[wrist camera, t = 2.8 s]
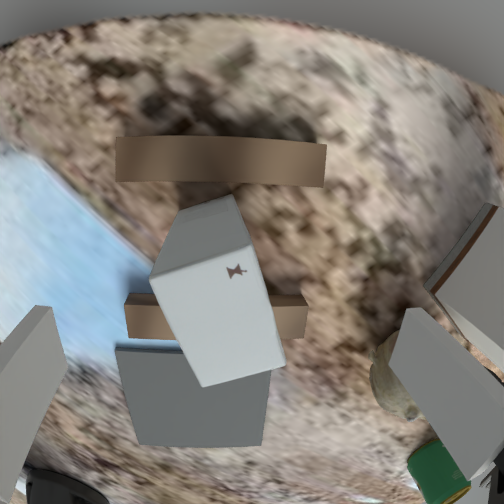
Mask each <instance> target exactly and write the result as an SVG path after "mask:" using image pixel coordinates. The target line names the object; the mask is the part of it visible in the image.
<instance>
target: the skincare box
mask: <svg viewBox="0 0 504 504" xmlns="http://www.w3.org/2000/svg"><path fill="white" fill-rule="evenodd" d="M149 282H150V285H151V287H152V289H153V291H154V294H155V296H156V298H157V300H158V303H159V305H160V307H161V309H162V311H163V313H164V316H165V318H166V320H167V322H168V324H169V326H170V328H171V330H172V332H173V334H174V336H175V338H176V340H177V342H178V343H179V345H180V347H181V349H182V351H183V353H184V355H185V357H186V358H187V360H188V362H189V364H190V366H191V368H192V370H193V372H194V373H195V375H196V377H197V379H198V381H199V383H200V385H201V387H207V386H211V385H215V384H219V383H223V382H227V381H231V380H234V379H238V378H242V377H246V376H249V375H253V374H257V373H260V372H264V371H268V370H271V369H275V368H279V367H282V366H285V365H286V357H285V354H284V350H283V347H282V343H281V340H280V337H279V333H278V330H277V326H276V322H275V317H274V313H273V309H272V306H271V304H270V300H269V297H268V293H267V289H266V286H265V283H264V279H263V276H262V273H261V269H260V266H259V262H258V259H257V256H256V253H255V249H254V246H253V243H252V241H251V238H250V235H249V232H248V230H247V228H246V226H245V223H244V221H243V219H242V216H241V214H240V211H239V209H238V206H237V204H236V201H235V199H234V196H233V194H230V195H227V196H223V197H220V198H217V199H213V200H210V201H207V202H204V203H201V204H198V205H195V206H192V207H189V208H186V209H183V210H180V211H178V213H177V216H176V218H175V220H174V222H173V224H172V226H171V228H170V231H169V233H168V235H167V237H166V239H165V242H164V244H163V246H162V248H161V251H160V253H159V255H158V257H157V260H156V262H155V265H154V267H153V269H152V271H151V274H150V276H149Z"/></svg>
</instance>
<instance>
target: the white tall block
mask: <svg viewBox="0 0 504 504" xmlns="http://www.w3.org/2000/svg"><path fill="white" fill-rule="evenodd" d="M423 286H424V288H425V289H426V290H427V292H428V293H429V294H430V295H431V297H432V298H433V299H434V301H435V302H436V303H437V305H438V306H439V307H440V309H441V310H442V311H443V313H444V314H445V315H446V317H447V318H448V319H449V321H450V322H451V324H452V325H453V326H454V328H455V329H456V330H457V332H458V333H459V334H460V335H461V336H462V337H463V338H464V339H466V340H467V341H468V342H469V341H470V342H471V343H472V344H473V345H474V346H475V347H476V348H477V349H479V350H480V351H481V352H482V353H483V354H484V355H485V356H486V357H487V358H488V359H490V360H491V361H492V362H493V363H494V364H495V365H496V366H497V367H498V368H499V369H500V370H501V371H502V372H503V373H504V208H501V207H498V206H495V205H492V204H489V203H485V204H484V206H483V207H482V209H481V210H480V212H479V213H478V215H477V216H476V218H475V219H474V220H473V222H472V223H471V225H470V226H469V228H468V229H467V230H466V232H465V233H464V234H463V236H462V237H461V239H460V240H459V241H458V243H457V244H456V245H455V247H454V248H453V249H452V251H451V252H450V253H449V254H448V256H447V257H446V258H445V260H444V261H443V262H442V263H441V265H440V266H439V267H438V268H437V270H436V271H435V272H434V273H433V274H432V276H431V277H430V278H429V279H428V281H427V282H426V283H425V284H424V285H423Z"/></svg>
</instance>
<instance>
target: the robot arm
mask: <svg viewBox="0 0 504 504" xmlns="http://www.w3.org/2000/svg"><path fill="white" fill-rule="evenodd" d="M388 365H389V366H390V368H391V369H392V370H393V372H394V373H395V375H396V376H397V377H398V379H399V380H400V382H401V383H402V384H403V386H404V387H405V389H406V390H407V392H408V393H409V394H410V396H411V397H412V399H413V400H414V402H415V403H416V404H417V406H418V407H419V409H420V410H421V412H422V413H423V415H424V416H425V417H426V419H427V420H428V422H429V423H430V425H431V426H432V428H433V429H434V431H435V432H436V434H437V435H438V437H439V438H440V440H441V441H442V443H443V444H444V446H445V447H446V449H447V450H448V452H449V453H450V455H451V456H452V458H453V459H454V461H455V462H456V464H457V465H458V467H459V469H460V470H461V472H462V473H463V475H464V476H465V478H466V480H467V481H469V480H471V479H473V478H475V477H476V476H478V475H480V474H481V473H483V472H484V471H485V470H486V469H487V468H488V467H489V465H490V464H491V463H492V462H494V463H495V464H496V466H495V467H494V468H493V469H492V471H491V472H490V473H489V474H488V475H487V476H486V477H485V478H484V479H483V480H482V482H481V484H480V486H479V487H483V486H484V485H485V483H487V481H488V480H489V479H491V481H490V482H489V483H488V484H487V486H486V488H490V492H489V500H488V504H504V382H503V383H502V380H501V379H500V378H499V377H498V376H497V375H496V374H495V373H494V372H493V371H491V370H489V369H488V368H486V367H484V366H483V365H482V364H481V363H480V362H479V361H478V360H477V359H476V358H475V357H474V356H473V355H472V354H470V353H469V352H468V351H467V350H466V349H465V348H464V347H463V346H462V345H461V344H460V343H459V342H458V341H457V340H456V339H455V338H454V337H453V336H452V335H451V334H450V333H448V332H447V331H446V330H445V329H444V328H443V327H442V326H441V325H440V324H439V323H438V322H437V321H436V320H434V319H433V318H432V317H431V316H430V315H429V314H428V313H427V312H426V311H425V310H423V309H422V308H421V307H419V308H408V309H406V312H405V315H404V319H403V322H402V325H401V328H400V332H399V335H398V338H397V341H396V344H395V347H394V350H393V353H392V356H391V359H390V361H389V364H388ZM67 369H68V364H67V361H66V358H65V354H64V351H63V348H62V344H61V341H60V337H59V334H58V330H57V326H56V322H55V318H54V314H53V310H52V307H48V306H38V305H35V306H34V307H33V308H32V309H31V311H30V312H29V313H28V314H27V315H26V316H25V317H24V318H23V319H22V321H21V322H20V323H19V324H18V325H17V326H16V328H15V329H14V330H13V331H12V332H11V333H10V335H9V336H8V337H7V338H6V339H5V340H4V342H3V343H2V344H1V345H0V500H1V501H4V502H6V503H8V504H9V503H10V500H11V497H12V494H13V491H14V489H15V486H16V483H17V480H18V478H19V475H20V472H21V470H22V467H23V465H24V462H25V460H26V457H27V455H28V452H29V450H30V447H31V445H32V443H33V440H34V438H35V436H36V433H37V431H38V429H39V427H40V424H41V422H42V420H43V418H44V416H45V414H46V411H47V409H48V407H49V405H50V403H51V401H52V399H53V397H54V395H55V393H56V391H57V389H58V387H59V385H60V383H61V381H62V379H63V377H64V375H65V373H66V371H67ZM26 497H27V504H109V502H108V501H107V500H106V499H105V498H104V497H103V496H102V495H100V494H99V493H97V492H96V491H94V490H93V489H91V488H89V487H87V486H86V485H84V484H82V483H80V482H77V481H75V480H73V479H71V478H68V477H66V476H63V475H60V474H57V473H54V472H50V471H46V470H40V469H35V470H31V471H30V472H29V474H28V477H27V480H26Z"/></svg>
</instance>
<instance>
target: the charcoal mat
mask: <svg viewBox="0 0 504 504" xmlns="http://www.w3.org/2000/svg"><path fill="white" fill-rule="evenodd" d="M115 355H116V359H117V364H118V368H119V373H120V377H121V381H122V385H123V389H124V393H125V397H126V401H127V405H128V408H129V412H130V416H131V419H132V422H133V426H134V429H135V432H136V436H137V439H138V442H139V444H140V445H152V446H167V447H195V448H219V447H247V446H261V443H262V436H263V429H264V422H265V415H266V407H267V400H268V392H269V384H270V376H271V370H268V371H264V372H260V373H257V374H253V375H249V376H246V377H242V378H238V379H234V380H231V381H227V382H223V383H219V384H215V385H211V386H207V387H201V385H200V383H199V381H198V379H197V377H196V375H195V373H194V372H193V370H192V368H191V366H190V364H189V362H188V360H187V358H186V357H185V355H184V353H183V351H177V350H151V349H133V348H118V347H116V349H115Z"/></svg>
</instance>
